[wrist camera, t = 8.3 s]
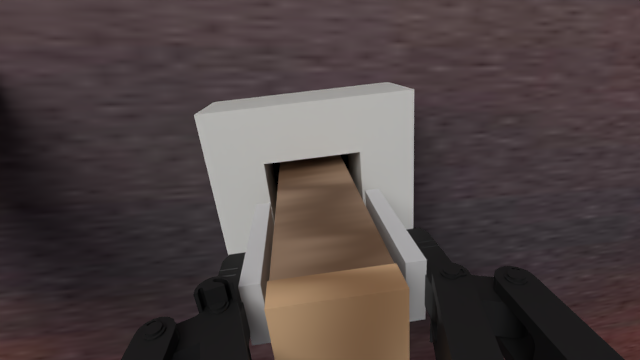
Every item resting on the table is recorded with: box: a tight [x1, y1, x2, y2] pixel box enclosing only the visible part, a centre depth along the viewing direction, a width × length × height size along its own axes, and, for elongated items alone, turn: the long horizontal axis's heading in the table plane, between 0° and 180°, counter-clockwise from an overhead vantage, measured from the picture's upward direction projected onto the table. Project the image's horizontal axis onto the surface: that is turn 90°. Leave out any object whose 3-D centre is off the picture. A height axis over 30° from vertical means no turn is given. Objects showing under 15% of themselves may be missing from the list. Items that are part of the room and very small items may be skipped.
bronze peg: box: [264, 155, 409, 360], centre depth 17 cm, size 4×4×16 cm
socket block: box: [194, 82, 414, 256], centre depth 22 cm, size 12×12×5 cm
